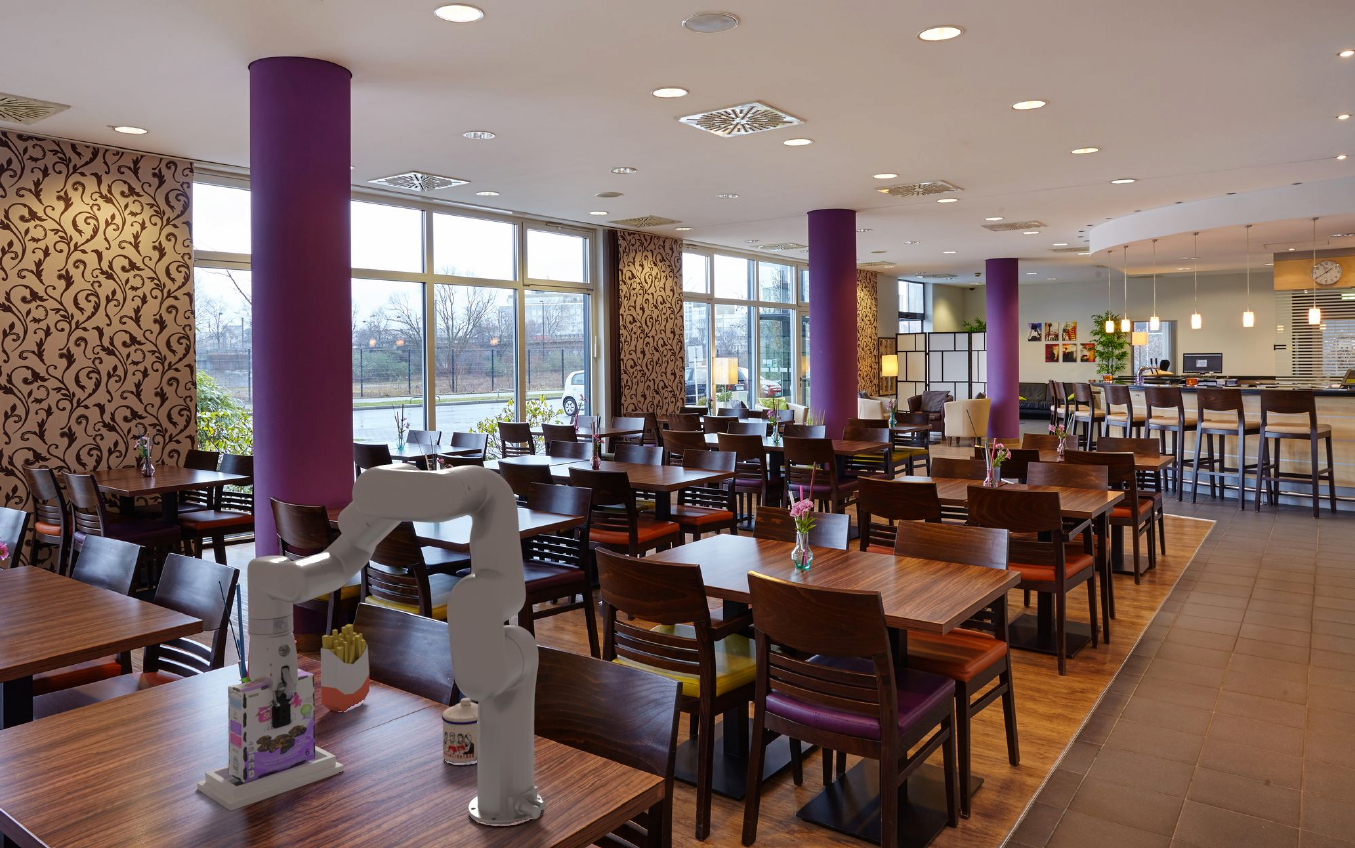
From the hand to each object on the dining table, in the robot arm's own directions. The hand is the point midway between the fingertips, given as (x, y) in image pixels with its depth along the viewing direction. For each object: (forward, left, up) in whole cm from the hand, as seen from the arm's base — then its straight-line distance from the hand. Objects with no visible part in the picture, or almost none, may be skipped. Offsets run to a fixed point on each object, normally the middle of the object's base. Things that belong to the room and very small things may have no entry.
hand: (272, 720), depth 167 cm
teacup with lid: (-20, -30, -11) cm, 38 cm away
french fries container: (+24, -29, -11) cm, 39 cm away
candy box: (0, 0, -9) cm, 9 cm away
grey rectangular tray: (0, 0, -11) cm, 11 cm away
